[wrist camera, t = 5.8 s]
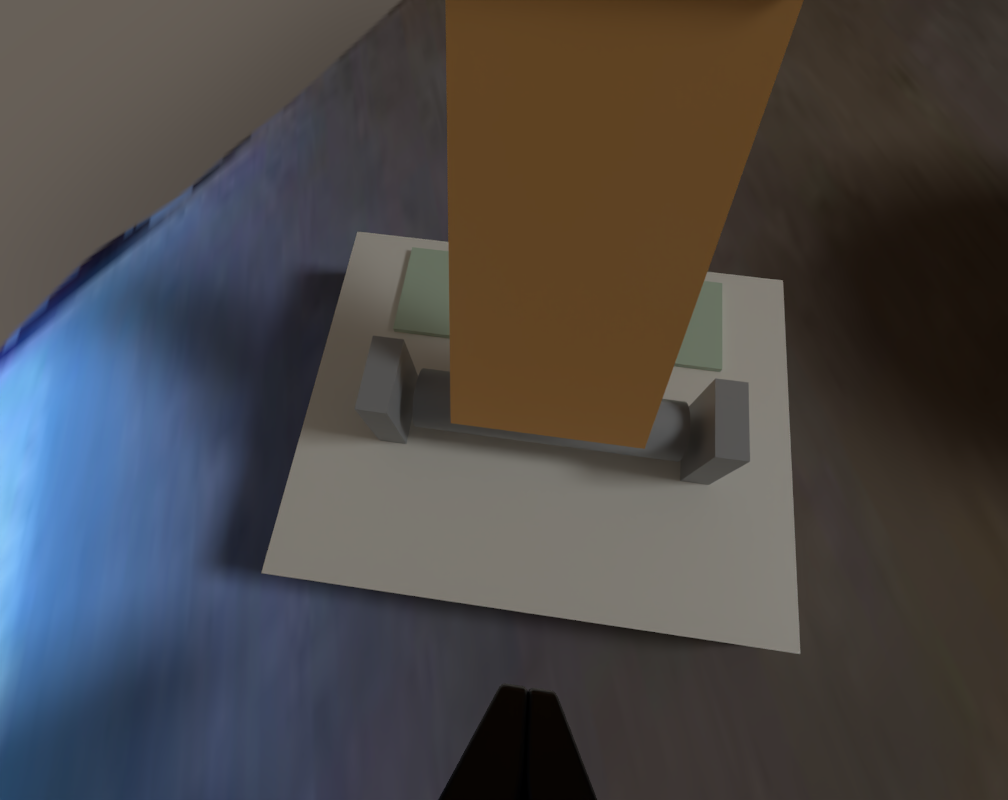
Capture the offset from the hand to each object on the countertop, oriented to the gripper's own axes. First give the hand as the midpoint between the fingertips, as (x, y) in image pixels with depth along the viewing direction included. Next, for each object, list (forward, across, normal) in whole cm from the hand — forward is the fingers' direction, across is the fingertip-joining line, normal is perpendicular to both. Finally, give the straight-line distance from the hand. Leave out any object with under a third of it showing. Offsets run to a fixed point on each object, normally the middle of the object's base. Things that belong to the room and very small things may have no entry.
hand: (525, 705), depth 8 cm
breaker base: (+10, 0, +1) cm, 10 cm away
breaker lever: (+7, 0, -1) cm, 8 cm away
